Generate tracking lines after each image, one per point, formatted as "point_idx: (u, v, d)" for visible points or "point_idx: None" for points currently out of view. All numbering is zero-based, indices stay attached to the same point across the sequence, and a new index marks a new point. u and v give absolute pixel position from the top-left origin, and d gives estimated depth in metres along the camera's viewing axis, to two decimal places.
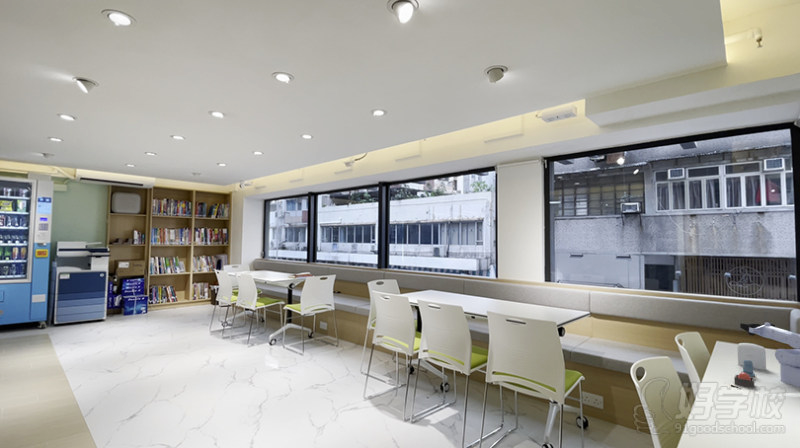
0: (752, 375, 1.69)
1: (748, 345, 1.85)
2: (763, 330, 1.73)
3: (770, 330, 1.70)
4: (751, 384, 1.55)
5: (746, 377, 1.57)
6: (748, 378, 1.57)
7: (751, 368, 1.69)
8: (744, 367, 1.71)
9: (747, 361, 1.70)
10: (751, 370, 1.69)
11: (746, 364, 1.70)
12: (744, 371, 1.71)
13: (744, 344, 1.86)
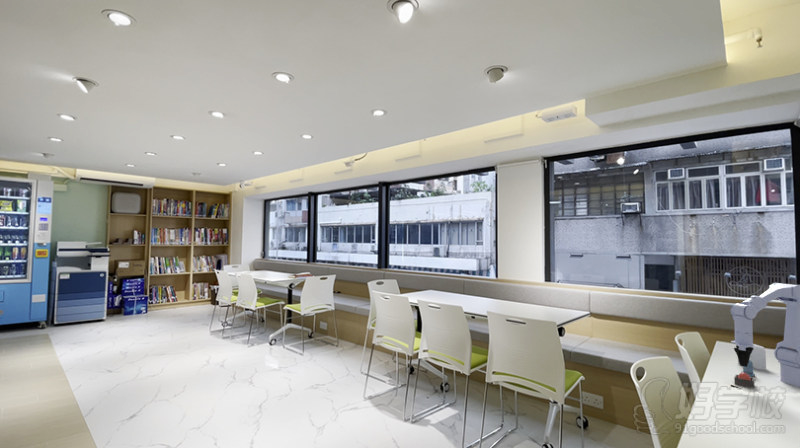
0: (752, 375, 1.69)
1: None
2: (741, 342, 1.58)
3: (738, 335, 1.59)
4: (751, 384, 1.55)
5: (746, 377, 1.57)
6: (748, 378, 1.57)
7: (751, 368, 1.69)
8: (744, 367, 1.71)
9: None
10: (751, 370, 1.69)
11: None
12: (744, 371, 1.71)
13: None
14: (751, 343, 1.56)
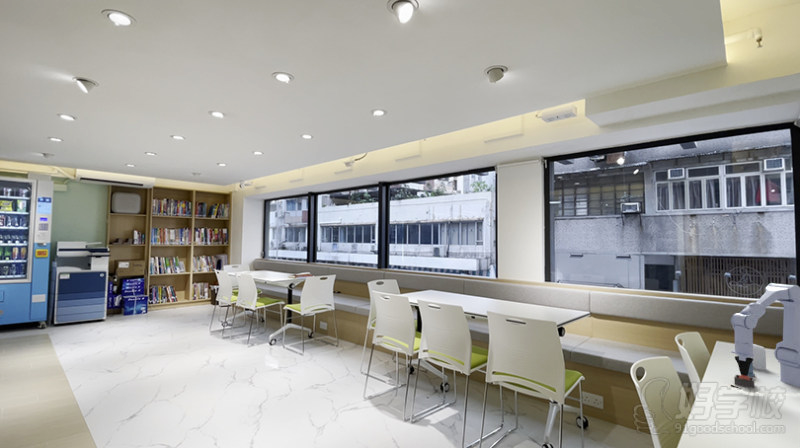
0: (752, 375, 1.69)
1: None
2: (741, 352, 1.57)
3: (738, 345, 1.58)
4: (751, 384, 1.55)
5: (746, 379, 1.57)
6: None
7: (751, 368, 1.69)
8: None
9: None
10: (751, 370, 1.69)
11: None
12: None
13: None
14: (751, 353, 1.56)
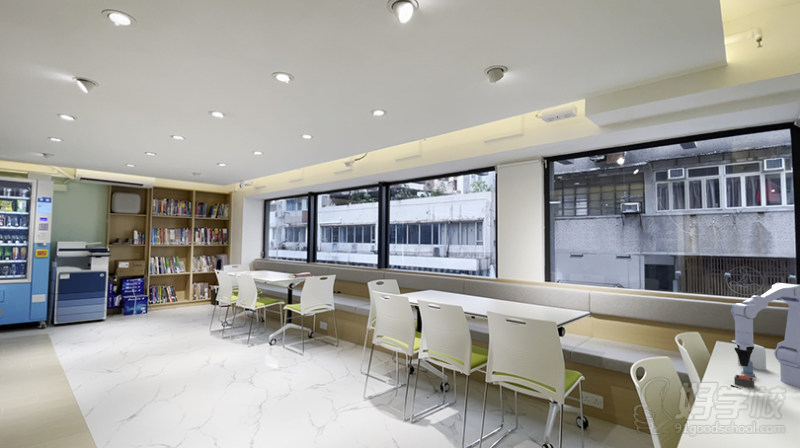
0: (752, 375, 1.69)
1: None
2: (741, 341, 1.59)
3: (739, 334, 1.60)
4: (751, 384, 1.55)
5: (746, 379, 1.57)
6: None
7: (751, 368, 1.69)
8: (744, 367, 1.71)
9: None
10: (751, 370, 1.69)
11: None
12: (744, 371, 1.71)
13: None
14: (752, 342, 1.58)
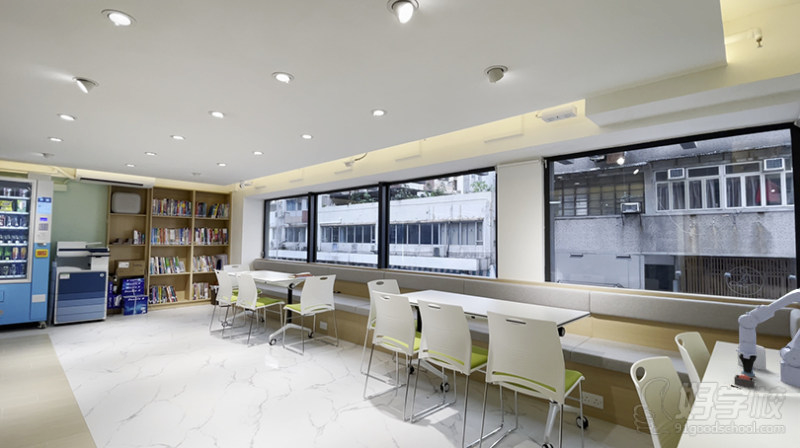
0: (752, 375, 1.69)
1: None
2: (745, 350, 1.70)
3: (743, 344, 1.71)
4: (751, 384, 1.55)
5: (746, 379, 1.57)
6: None
7: None
8: None
9: None
10: None
11: None
12: (744, 371, 1.71)
13: None
14: (755, 351, 1.69)
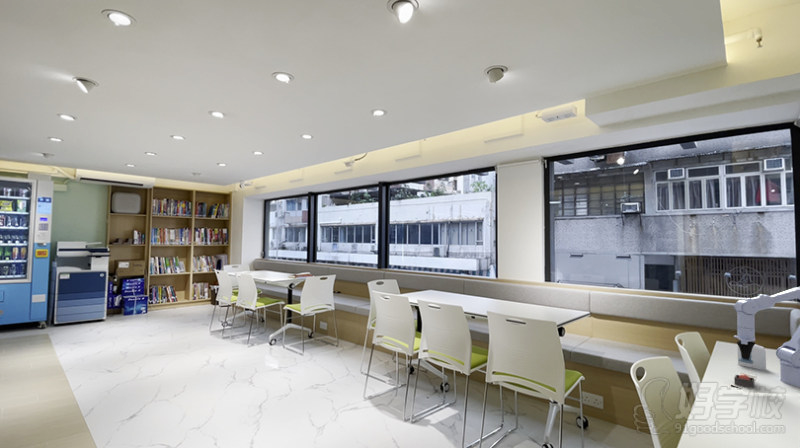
0: (750, 362, 1.65)
1: None
2: (743, 336, 1.66)
3: (741, 330, 1.67)
4: (751, 384, 1.55)
5: (746, 379, 1.57)
6: None
7: None
8: None
9: None
10: None
11: None
12: (742, 358, 1.67)
13: None
14: (753, 337, 1.65)
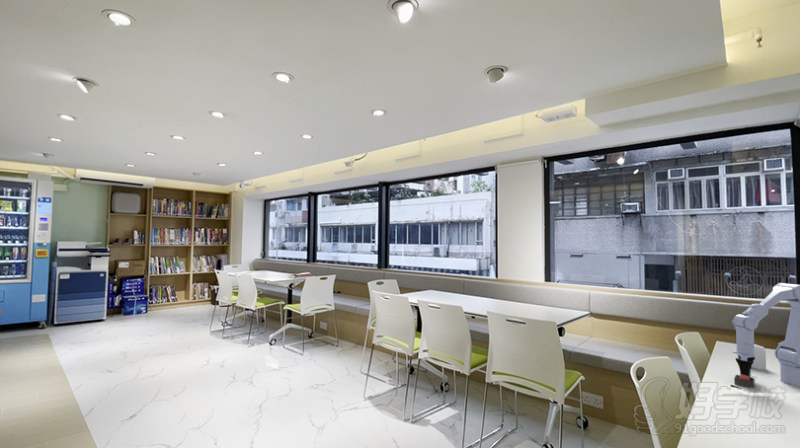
0: None
1: None
2: (742, 352, 1.62)
3: (740, 345, 1.63)
4: (751, 384, 1.55)
5: (746, 379, 1.57)
6: None
7: None
8: None
9: None
10: (748, 376, 1.61)
11: None
12: None
13: None
14: (752, 353, 1.61)
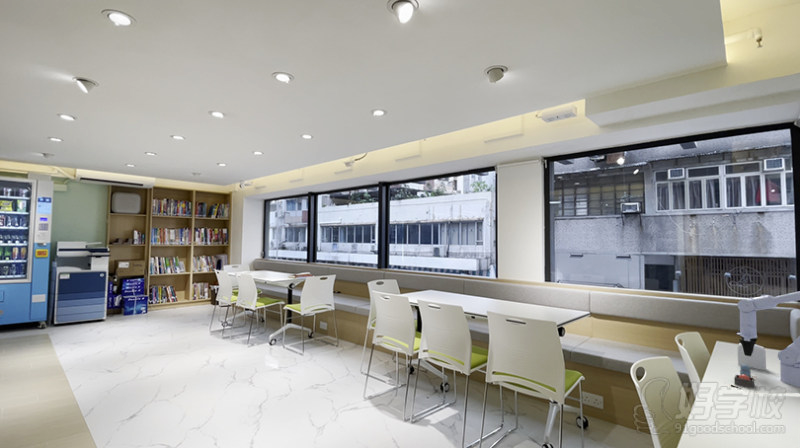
0: None
1: None
2: (746, 333, 1.75)
3: (743, 327, 1.76)
4: (751, 384, 1.55)
5: (746, 379, 1.57)
6: None
7: (748, 374, 1.61)
8: (741, 372, 1.63)
9: (744, 366, 1.62)
10: (748, 376, 1.61)
11: (743, 369, 1.62)
12: None
13: None
14: (755, 334, 1.74)
